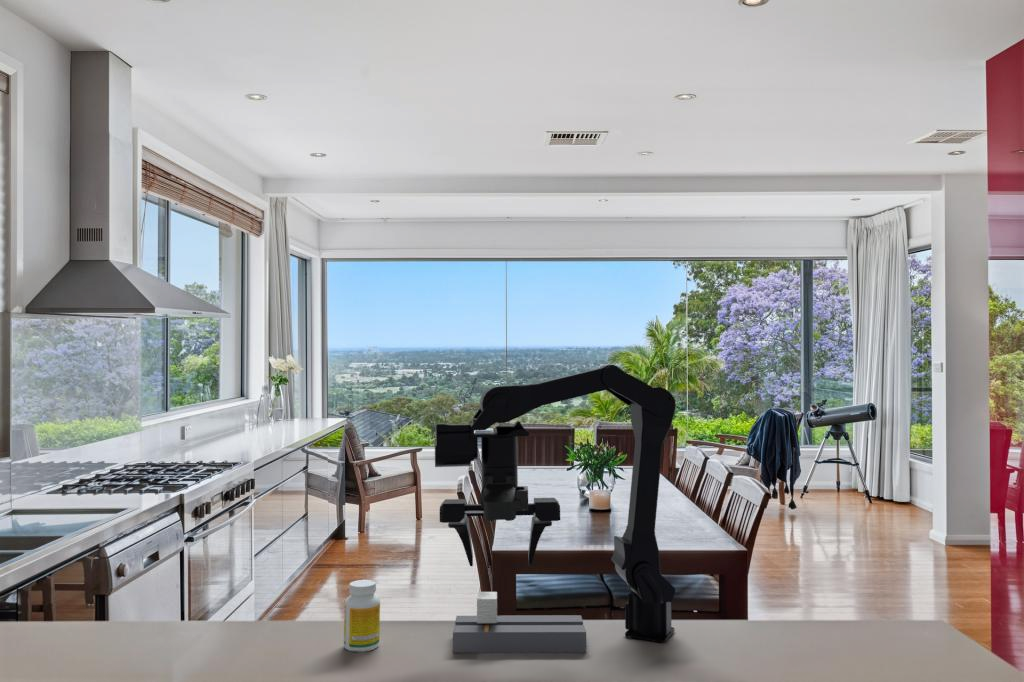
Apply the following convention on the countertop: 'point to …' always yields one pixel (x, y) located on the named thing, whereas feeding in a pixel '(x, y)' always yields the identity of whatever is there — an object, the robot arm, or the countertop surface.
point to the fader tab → (487, 608)
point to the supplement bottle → (362, 617)
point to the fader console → (520, 634)
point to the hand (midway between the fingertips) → (500, 565)
